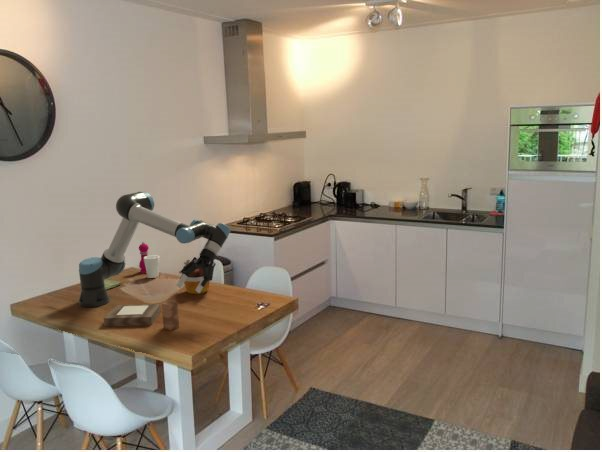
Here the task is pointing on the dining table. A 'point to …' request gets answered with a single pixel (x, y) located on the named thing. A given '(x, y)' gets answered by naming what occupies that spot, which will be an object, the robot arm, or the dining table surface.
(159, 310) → the tray
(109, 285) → the washcloth
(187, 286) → the bucket of meat
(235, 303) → the dining table surface
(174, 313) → the cherry block
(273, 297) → the dining table surface
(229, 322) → the dining table surface
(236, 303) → the dining table surface
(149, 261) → the foam cup
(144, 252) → the pepper mill
